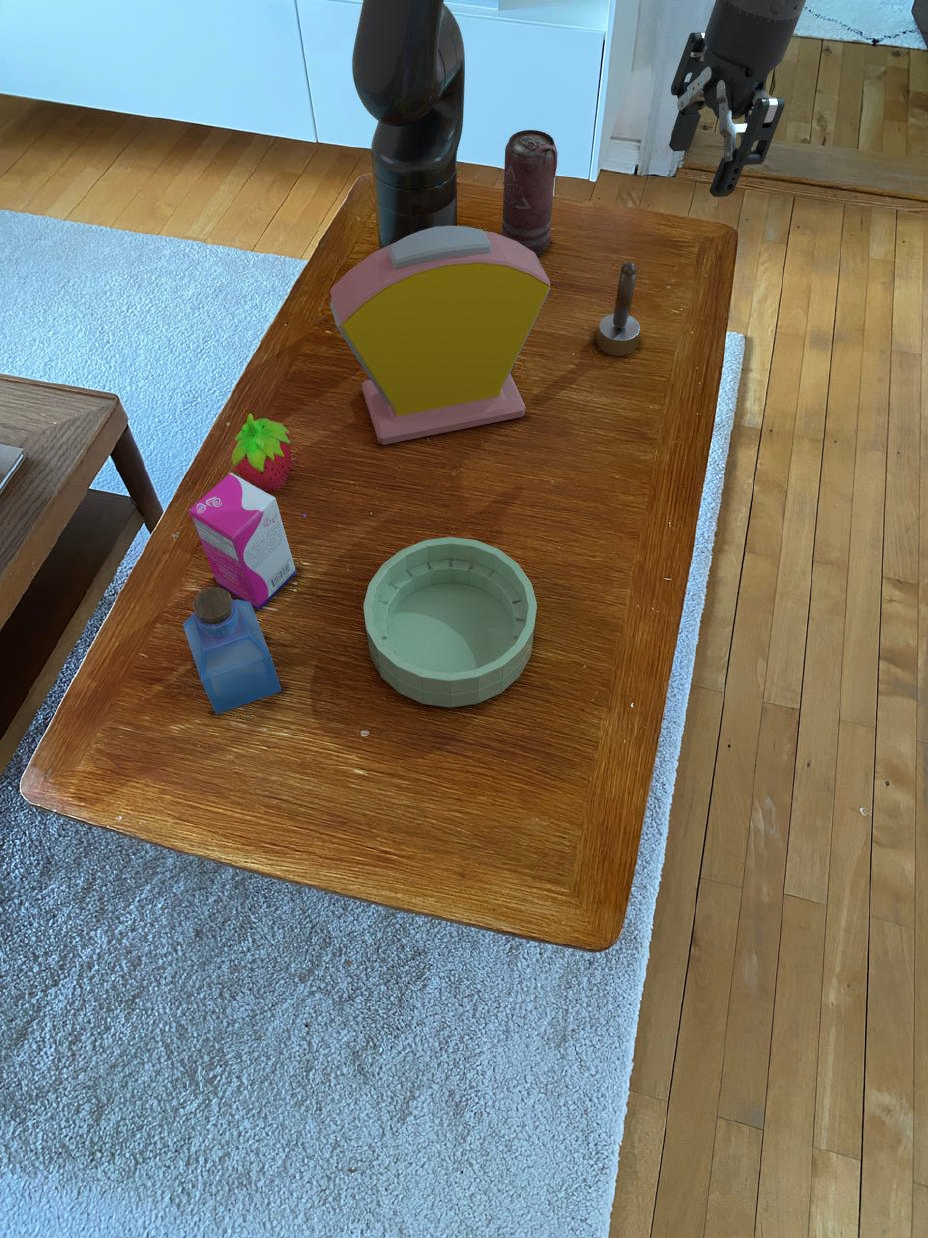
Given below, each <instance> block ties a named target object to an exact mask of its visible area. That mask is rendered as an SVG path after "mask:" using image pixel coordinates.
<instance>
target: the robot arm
mask: <svg viewBox="0 0 928 1238" xmlns="http://www.w3.org/2000/svg"><path fill="white" fill-rule="evenodd" d="M444 2H445V0H362V4H361V9H360V13H359V14H360V15H359V19H358V20H359V21H358V24H357V29H356V34H355V39H354V42H353V43H354V44H353V49H352V55H351V56H352V57H351V73H352V79H353V84H354V88H355V90H356V93H357V96H358V98H359V100H360V101H361V103H362V105H363V107H364V108H365V109H366V111H367V112H368V114H369V115H371V116H372V117H373V118H374V120H376V121H377V123H376V126H375V127H376V128H375V130H374V133H373V136H372V139H371V145H370V154H371V155H370V156H371V167H372V181H373V189H374V190H373V191H374V203H375V214H376V228H377V238H378V239H377V240H378V241H377V242H378V250H380V249H382V248H384V247H387V246H389V245H391V244H393V243H395V242H397V241H399V240H401V239H402V238H404V237H406V236H409V235H411V234H414V233H416V232H419V231H422V230H425V229H429V228H432V227H438V226H458V174H457V173H458V169H457V167H458V166H457V165H458V151H459V147H460V143H461V139H462V134H463V128H464V111H465V110H464V109H465V83H466V82H465V81H466V79H465V78H466V54H465V53H466V52H465V51H466V50H465V43H464V38H463V35H462V30H461V28H460V25H459V23H458V21H457V19H456V17H455V15H454V13H453V12H452V11H451V10H450V8H449V6H448V5H446V4H445V3H444ZM806 2H807V0H715V2H714V5H713V7H712V10H711V13H710V17H709V20H708V23H707V25H706V29H705V31H698V32H691V33H689V35H688V38H687V40H686V43H685V45H684V48H683V52H682V54H681V58H680V60H679V63H678V66H677V68H676V71H675V74H674V77H673V80H672V82H671V86H670V93H671V96H676V98H677V102H676V108H677V110H678V112H677V115H676V118H675V121H674V124H673V127H672V131H671V133H670V140H669V143H668V146H669V148H670V150H672V151H673V152H686V151H688V150H689V149H690V148H691V145H692V143H693V140H694V138H695V134H696V131H697V128H698V126H699V123H700V120H701V118H702V114H701V113H700V112H699V111H702V110H703V109H704V108H705V107H706V108H708V109H711V110H712V111H713V114H714V115H715V117H716V118H717V119H718V122H719V123H718V125H719V126H718V130H719V131H718V132H719V135H721V136H722V137H723V157H721V158H720V160H719V164H718V167H717V169H716V172H715V175H714V177H713V179H712V183H711V185H710V188H709V193H710V194H711V195H712V196H713V197H714V198H723V197H724V198H725V197H729V196H730V195H731V194H733V192H734V191H735V190H736V187H737V184H738V182H739V179H740V177H741V174H742V172H743V169H744V167H745V166H753V165H763V164H764V162H765V160H766V157H767V154H768V153H769V152H768V151H769V149H770V146H771V143H772V141H773V138H774V136H775V133H776V130H777V128H778V125H779V122H780V119H781V118H782V117H781V116H782V114H783V112H784V108H785V104H786V102H785V99H784V98H783V97H781V96H779V97H777V96H776V97H773V96H771V94H769V93H768V92H767V91H766V90H767V81H768V78H769V75H770V73H771V72H772V71H773V70H775V68H776V67H777V66H779V65H780V64H781V63H782V61H783V60H784V57H785V55H786V52H787V50H788V47H789V45H790V43H791V39H792V38H793V35H794V33H795V30H796V27H797V26H798V25H797V24H798V23H799V20H800V17H801V15H802V12H803V10H804V7H805V5H806ZM689 74H690V78H689V81H686V78H687V76H688V75H689ZM743 116H744V122H743V123H734V122H733V121H734V120H739V119H741V118H742V117H743ZM737 135H739V137H740V144H739V146H738V147H736V145H737V144H736V143H737V142H736V141H737V140H736V137H737ZM755 142H757V144H756V147H755V149H754V148H753V146H754V144H755Z"/></svg>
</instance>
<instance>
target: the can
mask: <svg viewBox="0 0 928 1238" xmlns="http://www.w3.org/2000/svg"><path fill="white" fill-rule="evenodd" d="M558 153H559V152H558V149H557V146H556V144H555V140H554V137H552V136H551V135H550V134H548V133H547V132H544V131H541V130H538V129H537V130H536V129H524V130H521V131H520V130H519V131H517V132H515V133H513V134H512V135H511V136H510V137H509V139H508V141H507V143H506V145H505V148H504V167H503V168H504V170H503V192H502V193H503V196H502V221H501V235H502V236H504V237H507V238H509V239H512V240H514V241H517V242H518V243H520V244H522V245H523V246H525V247H526V248H528V249H530V250H531V251H533V252H534V253H535V254H536V256H537V257H539V256H541V255H542V254H543V253H545V251H546V250H547V248H548V247H549V244H550V236H551V223H552V212H553V200H554V189H555V177H556V174H557V169H558Z"/></svg>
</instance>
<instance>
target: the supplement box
mask: <svg viewBox="0 0 928 1238" xmlns="http://www.w3.org/2000/svg"><path fill="white" fill-rule="evenodd" d="M188 513H189V515H190V518H191V520H192V523H193V526H194V529H195V531H196V533H197V536H198V538H199V541H200V543H201V545H202V549H203V550H204V553H205V555H206V556H205V557H206V558H207V561H208V564H209V566H210V568H211V571H212V574H213V576H214V579H215V581H216V584H217V585H218V586H220V587H222V589H225V590H226V591H227V592H229V593H231V594H233V595H234V596H236V597H237V598H239V600H242V601H247V602H251V605H252V607H253V609H256V610H258V611H259V610H261V609H262V608H263V607H264V606H265V605H266V604H267V603H268V602H270V600H271V599H272V598H273V597H275V595H276V594H278V592H279V591H280V590H281V589H282V588H283V587H285V585H286V584H287V583H288V582H289V581H291V579H292V578H293V577H294V576H295V575H297V570H296V566H295V563H294V559H293V556H292V552H291V549H290V545H289V542H288V538H287V535H286V531H285V527H284V523H283V520H282V517H281V512H280V509H279V505H278V502H277V498H276V497H275V496H273V495H272V494H269V493H267V492H266V491H265V490H261V489H259V487H257V486H255V485H251V483H250V482H249V481H247V480H244V479H243V478H241V476H238V475H236V474H234V473H233V472H229V473H228V474H227V475H226V476H225V477H224V478H223V479H221V480H220V481H219V482H218V483H217V484H216V485H215V486H214V487H213V488H212V489H210V491H208V492H207V493H206V494H205V495H204V496H202V498H200V499H199V500H198V501H197V502H196V503H195V504H194V505H193V506H191V507H190V508H189V509H188Z"/></svg>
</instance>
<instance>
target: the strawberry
mask: <svg viewBox="0 0 928 1238" xmlns="http://www.w3.org/2000/svg"><path fill="white" fill-rule="evenodd" d="M289 435H290V431H289V430H288V429H287V428H286V426H285V425H283V424H282V422H281V423H280V422H279V421H277V420H276V421H275V420H270V419H268V418H265V417H262V418H258V419H256V420H254V415H253V414H252V413H249V414H248V415H247V419H246V422H245V423H243V425H242V426H241V429H240V431H239V432H238V433H237V435H236V436H235V437H234V444H233V446H232V449H231V451H230V453H231V460H232V464H233V466H234V469H235V470H236V472H238V474H239V475H240V476H239V477H242V479H243V480H245V481H246V482H248V483H250V484H251V485H253V486H255V487H257V488H258V489H260V490H262V491H265V492H266V491H267V492H270V491H271V492H274V491H276V490H278V491H280V490H279V489H280V488H282V487H283V486H284V484H285V482H286V481H287V477H288V476H290V469H292V466H291V464H292V451H291V449H292V448H291V446H292V445H291V441H290V436H289Z"/></svg>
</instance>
